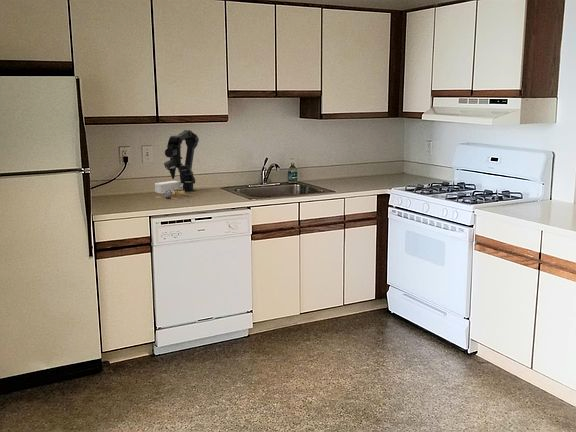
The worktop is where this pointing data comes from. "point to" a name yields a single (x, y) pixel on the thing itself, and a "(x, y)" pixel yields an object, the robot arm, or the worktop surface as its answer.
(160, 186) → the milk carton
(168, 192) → the steel post
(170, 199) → the copper plate
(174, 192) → the brass ring
